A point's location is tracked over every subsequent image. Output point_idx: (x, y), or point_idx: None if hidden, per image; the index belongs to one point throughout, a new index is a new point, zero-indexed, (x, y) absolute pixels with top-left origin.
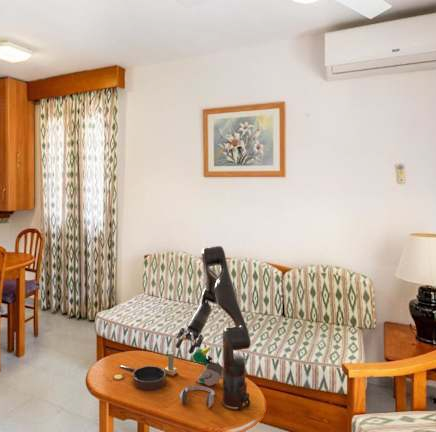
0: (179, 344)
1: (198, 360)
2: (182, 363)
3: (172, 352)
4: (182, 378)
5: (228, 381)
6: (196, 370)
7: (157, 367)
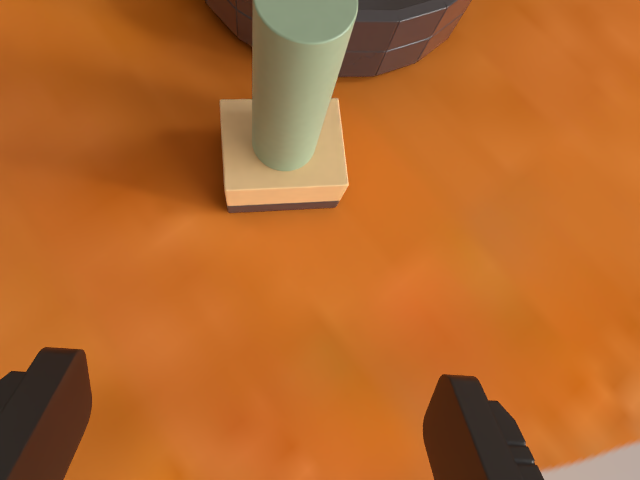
0: (455, 478)
1: None
2: (337, 466)
3: (289, 23)
4: (128, 178)
5: None
6: (86, 434)
7: (378, 11)
